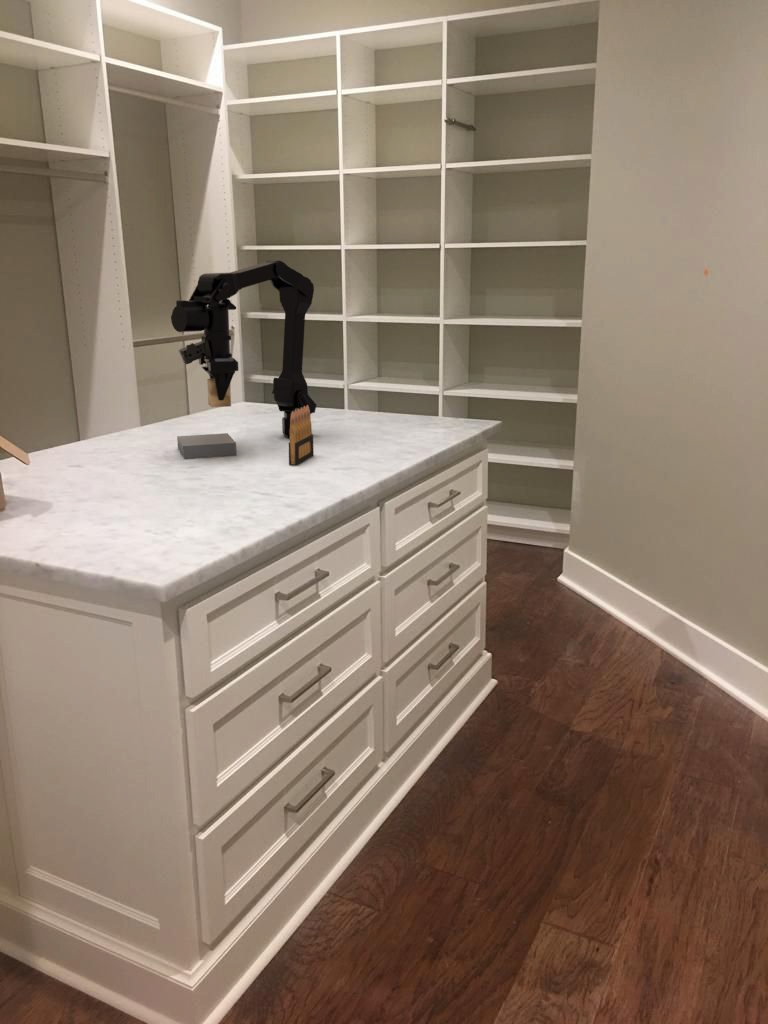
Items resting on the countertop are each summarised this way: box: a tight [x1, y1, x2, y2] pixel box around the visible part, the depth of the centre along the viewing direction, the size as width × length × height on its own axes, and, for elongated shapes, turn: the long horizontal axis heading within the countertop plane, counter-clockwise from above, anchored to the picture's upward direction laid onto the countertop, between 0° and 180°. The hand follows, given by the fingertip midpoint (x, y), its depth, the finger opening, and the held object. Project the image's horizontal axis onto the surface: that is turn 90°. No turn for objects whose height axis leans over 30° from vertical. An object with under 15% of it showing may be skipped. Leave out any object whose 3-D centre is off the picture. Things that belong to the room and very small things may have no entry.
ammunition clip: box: [288, 405, 315, 467], centre depth 189 cm, size 11×2×12 cm, turn 164°
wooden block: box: [206, 378, 232, 408], centre depth 196 cm, size 4×4×6 cm
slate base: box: [176, 432, 237, 460], centre depth 199 cm, size 12×12×3 cm
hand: (219, 398), depth 197 cm, fingers closed on wooden block, 4 cm apart
